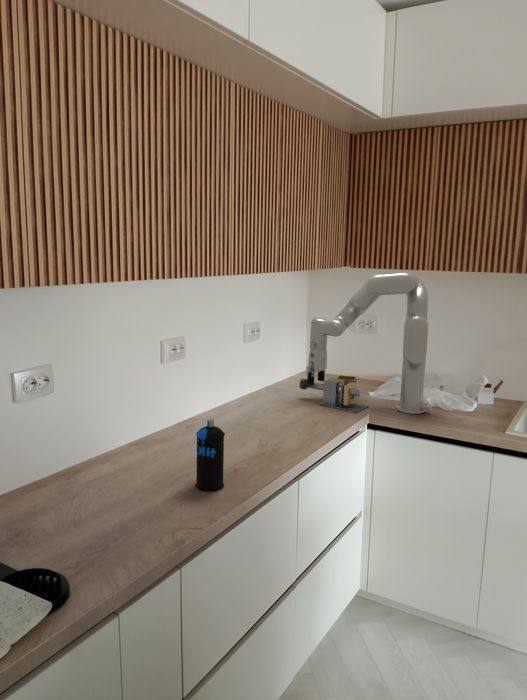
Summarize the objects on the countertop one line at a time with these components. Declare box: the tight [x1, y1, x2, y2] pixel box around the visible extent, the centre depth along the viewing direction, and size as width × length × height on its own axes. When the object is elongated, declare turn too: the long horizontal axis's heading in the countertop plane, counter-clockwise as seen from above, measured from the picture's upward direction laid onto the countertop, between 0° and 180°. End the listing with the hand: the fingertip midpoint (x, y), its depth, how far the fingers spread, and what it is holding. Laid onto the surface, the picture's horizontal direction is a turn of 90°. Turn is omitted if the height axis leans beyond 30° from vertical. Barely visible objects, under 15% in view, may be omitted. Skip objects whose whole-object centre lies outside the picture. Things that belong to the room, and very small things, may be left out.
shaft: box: [299, 378, 361, 398], centre depth 262 cm, size 28×5×5 cm, turn 57°
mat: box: [335, 402, 370, 414], centre depth 257 cm, size 10×12×1 cm
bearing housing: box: [318, 377, 344, 409], centre depth 261 cm, size 8×11×11 cm
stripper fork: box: [340, 382, 351, 408], centre depth 258 cm, size 1×9×10 cm, turn 147°
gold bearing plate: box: [343, 382, 358, 406], centre depth 257 cm, size 2×8×8 cm, turn 147°
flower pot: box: [336, 374, 358, 386], centre depth 277 cm, size 9×9×9 cm
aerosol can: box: [195, 418, 226, 492], centre depth 169 cm, size 8×8×20 cm
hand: (315, 382), depth 265 cm, fingers open, 9 cm apart
